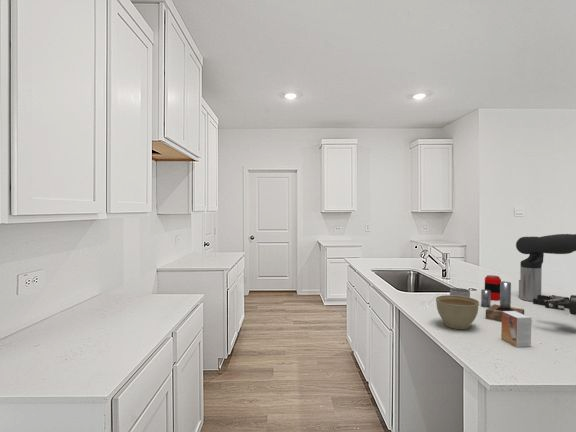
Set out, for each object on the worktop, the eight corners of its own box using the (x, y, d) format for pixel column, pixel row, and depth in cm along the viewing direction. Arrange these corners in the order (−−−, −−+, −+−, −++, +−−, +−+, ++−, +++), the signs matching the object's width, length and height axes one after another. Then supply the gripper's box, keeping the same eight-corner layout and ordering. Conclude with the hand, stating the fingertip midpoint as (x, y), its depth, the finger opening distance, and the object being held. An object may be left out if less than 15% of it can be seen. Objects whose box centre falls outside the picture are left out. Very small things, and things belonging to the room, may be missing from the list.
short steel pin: (479, 305, 177) (479, 289, 177) (486, 305, 178) (486, 289, 177) (484, 307, 173) (485, 291, 173) (492, 307, 174) (492, 291, 173)
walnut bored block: (485, 318, 156) (485, 309, 156) (493, 312, 165) (493, 304, 165) (517, 325, 148) (517, 315, 148) (524, 318, 156) (524, 309, 156)
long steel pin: (497, 317, 158) (498, 281, 158) (505, 317, 158) (506, 281, 158) (504, 320, 154) (504, 283, 154) (512, 319, 155) (513, 283, 154)
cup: (461, 314, 162) (461, 292, 162) (446, 310, 170) (446, 289, 169) (473, 312, 166) (473, 290, 166) (458, 307, 174) (458, 287, 173)
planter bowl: (429, 319, 156) (429, 294, 155) (467, 319, 155) (467, 295, 155) (444, 332, 139) (445, 305, 139) (486, 332, 139) (487, 305, 139)
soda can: (497, 301, 185) (498, 278, 184) (482, 298, 190) (482, 276, 190) (503, 298, 190) (503, 276, 189) (487, 296, 195) (487, 274, 195)
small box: (500, 339, 133) (501, 310, 132) (515, 338, 133) (515, 310, 133) (516, 347, 125) (516, 317, 124) (531, 346, 125) (531, 317, 125)
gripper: (588, 293, 142) (539, 287, 153) (583, 300, 132) (531, 293, 143) (587, 312, 142) (538, 304, 153) (583, 320, 132) (531, 311, 143)
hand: (535, 299), depth 148 cm, fingers open, 8 cm apart
